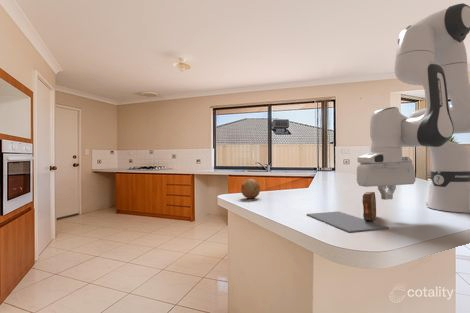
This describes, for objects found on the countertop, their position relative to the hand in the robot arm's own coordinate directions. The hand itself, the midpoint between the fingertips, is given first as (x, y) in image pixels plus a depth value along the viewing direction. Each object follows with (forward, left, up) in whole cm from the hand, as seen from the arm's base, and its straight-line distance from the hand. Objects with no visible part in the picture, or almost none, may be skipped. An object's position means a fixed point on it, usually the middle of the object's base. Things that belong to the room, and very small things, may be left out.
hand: (387, 199), depth 82 cm
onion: (+30, -54, -6) cm, 62 cm away
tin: (+7, 0, -6) cm, 9 cm away
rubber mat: (+16, -1, -6) cm, 17 cm away
